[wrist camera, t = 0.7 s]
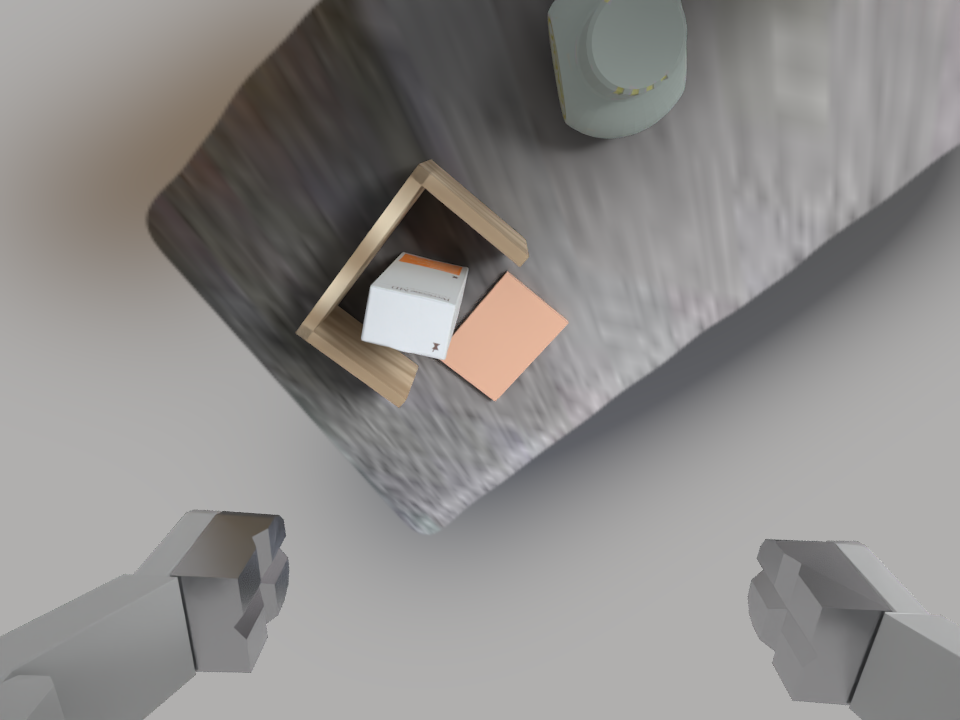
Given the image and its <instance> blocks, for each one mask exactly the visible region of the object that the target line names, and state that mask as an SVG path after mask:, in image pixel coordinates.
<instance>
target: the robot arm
mask: <svg viewBox="0 0 960 720" xmlns="http://www.w3.org/2000/svg"><path fill="white" fill-rule="evenodd" d="M285 537H286V533H285V526H284V520H283V518H282V517H281V516H280V515H270V514H255V513H241V512H228V511H227V512H226V511H222V512H220V511H208V510H207V511H206V510H192V511H189V512H187V513H185V515H184V516H183V517H182V518H181V519H180V520H179V521H178V523H177V524H176V525H175V526H174V527H173V529H172V530H171V531H170V532H169V533H168V534H167V536H166V537H165V538H164V539H163V540H162V541H161V543H160V544H159V545H158V546H157V547H156V548H155V550H154V551H153V552H152V553H151V554H150V556H149V557H148V558H147V559H146V560H145V561H144V563H143V564H142V565H141V566H140V567H139V568H138V570H137V571H136V572H135V573H134V574H133V575H127V574H123V575H122V576H119V577H118V578H116V579H113V580H112V581H110V582H108V583H105V584H103V585H101V586H100V587H98V588H96V589H94V590H92V591H90V592H88V593H86V594H84V595H82V596H80V597H78V598H76V599H74V600H72V601H70V602H68V603H66V604H64V605H62V606H60V607H58V608H56V609H54V610H52V611H50V612H48V613H46V614H44V615H42V616H40V617H38V618H36V619H34V620H32V621H30V622H28V623H26V624H24V625H22V626H20V627H18V628H17V629H14V630H12V631H10V632H8V633H7V634H5V635H3V636H1V637H0V720H143V719H144V718H145V717H147V716H148V715H149V714H150V713H151V712H153V711H154V710H155V709H156V708H157V707H158V706H160V705H161V704H162V703H163V702H164V701H165V700H167V699H168V698H169V697H170V696H171V695H173V693H175V692H176V691H177V690H178V689H180V688H181V687H182V686H183V685H184V684H185V683H187V682H188V681H189V680H190V679H191V678H192V677H194V676H195V675H196V672H202V671H203V672H243V673H251V671H252V670H253V667H254V665H255V663H256V661H257V659H258V657H259V655H260V653H261V651H262V649H263V646H264V644H265V642H266V640H267V638H268V635H267V627H266V624H267V623H268V622H269V621H271V620H272V619H274V618H275V617H276V616H278V614H279V612H280V610H281V607H282V605H283V603H284V600H285V596H286V592H287V587H288V582H289V562H288V557H287V556H286V554H285V553H284V552H282V550H281V549H280V546H281V544H282V542H283V541H284V538H285ZM757 560H758V562H759V563H760V565H761V567H762V568H763V570H762V571H761V572H760V573H759V574H758V575H757V576H755V577H754V578H753V579H752V580H751V584H750V589H749V593H748V604H749V605H748V606H749V615H750V617H751V621H752V625H753V627H754V629H755V631H756V633H757V635H758V637H759V639H760V640H761V641H762V642H764V643H765V644H766V645H768V646H769V647H770V648H772V649H773V650H774V651H775V655H774V658H773V662H772V664H773V666H774V667H775V669H776V671H777V673H778V675H779V677H780V678H781V680H782V682H783V684H784V686H785V688H786V690H787V691H788V693H789V695H790V697H791V699H792V700H793V701H804V702H816V703H829V704H841V705H850V707H849V708H850V709H851V710H852V711H853V712H854V713H855V714H856V715H858V716H859V717H860V718H861V719H862V720H960V625H958V624H956V623H955V622H953V621H951V620H949V619H947V618H946V617H944V616H942V615H935V614H930V613H929V612H928V611H927V610H926V609H925V608H924V607H923V606H922V605H921V604H920V602H919V601H918V600H917V599H916V598H915V597H914V596H913V595H912V594H911V593H910V592H909V591H908V590H907V589H906V588H905V586H904V585H903V584H902V583H901V582H900V581H899V580H898V579H897V578H896V577H895V576H894V575H893V574H892V572H891V571H890V570H889V569H887V567H886V566H884V564H883V563H882V562H881V561H880V560H879V559H878V558H877V556H876V555H875V554H874V553H873V552H872V551H871V550H870V549H869V548H868V547H867V546H866V545H864V544H862V543H860V542H858V541H826V542H820V541H798V540H775V539H765V541H764V542H763V544H762V545H761V546H760V550H759V553H758V556H757ZM195 671H196V672H195Z"/></svg>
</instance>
